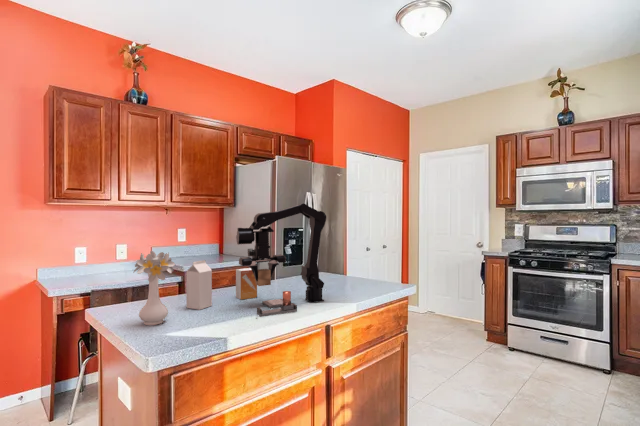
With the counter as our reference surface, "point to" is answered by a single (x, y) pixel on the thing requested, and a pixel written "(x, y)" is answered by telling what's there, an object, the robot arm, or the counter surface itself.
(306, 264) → the robot arm
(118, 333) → the counter surface
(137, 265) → the flower vase
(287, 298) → the handle
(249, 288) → the small box
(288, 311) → the rail
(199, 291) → the milk carton
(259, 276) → the block
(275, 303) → the plate
